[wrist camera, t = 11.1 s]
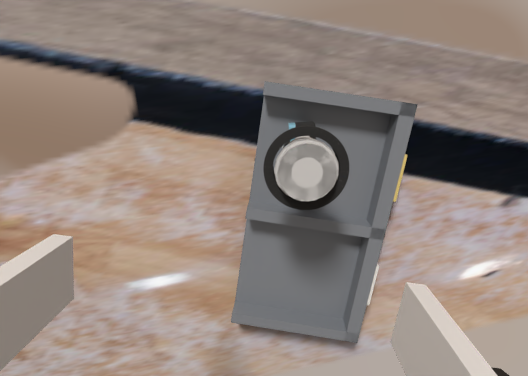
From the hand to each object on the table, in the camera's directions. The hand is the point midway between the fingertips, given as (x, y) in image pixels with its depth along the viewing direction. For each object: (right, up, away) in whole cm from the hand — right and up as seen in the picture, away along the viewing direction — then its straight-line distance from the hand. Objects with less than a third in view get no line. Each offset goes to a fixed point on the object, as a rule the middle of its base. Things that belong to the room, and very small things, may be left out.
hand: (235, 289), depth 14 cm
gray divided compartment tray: (+6, +2, +19) cm, 20 cm away
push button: (+4, +7, +17) cm, 19 cm away
